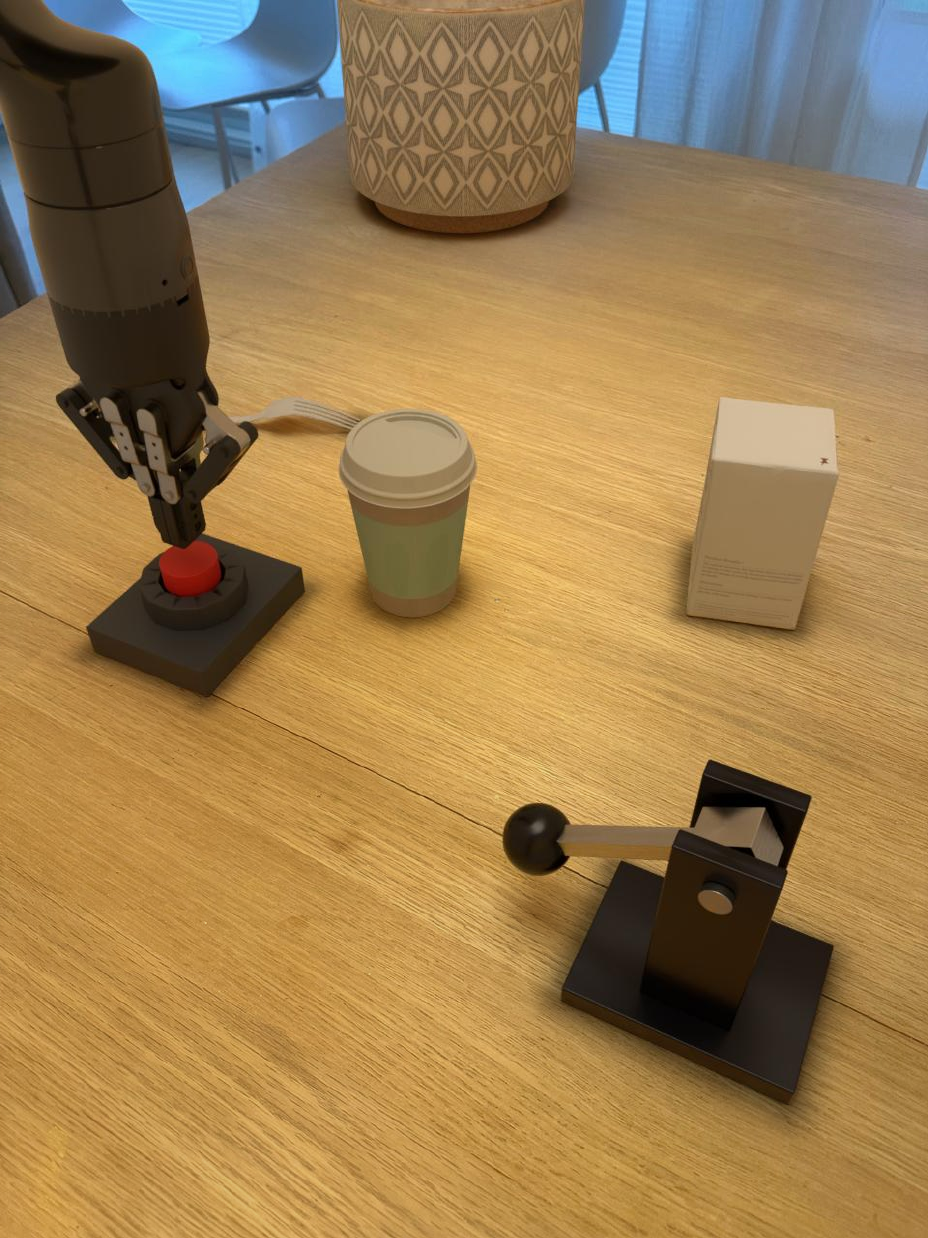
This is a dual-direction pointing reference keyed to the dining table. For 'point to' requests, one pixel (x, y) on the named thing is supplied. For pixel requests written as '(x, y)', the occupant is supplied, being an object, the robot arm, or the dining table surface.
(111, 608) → the button block
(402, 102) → the planter
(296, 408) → the fork
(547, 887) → the dining table surface
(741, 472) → the white packaging box
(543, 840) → the lever
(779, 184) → the dining table surface
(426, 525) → the coffee cup
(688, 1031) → the bracket
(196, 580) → the button
